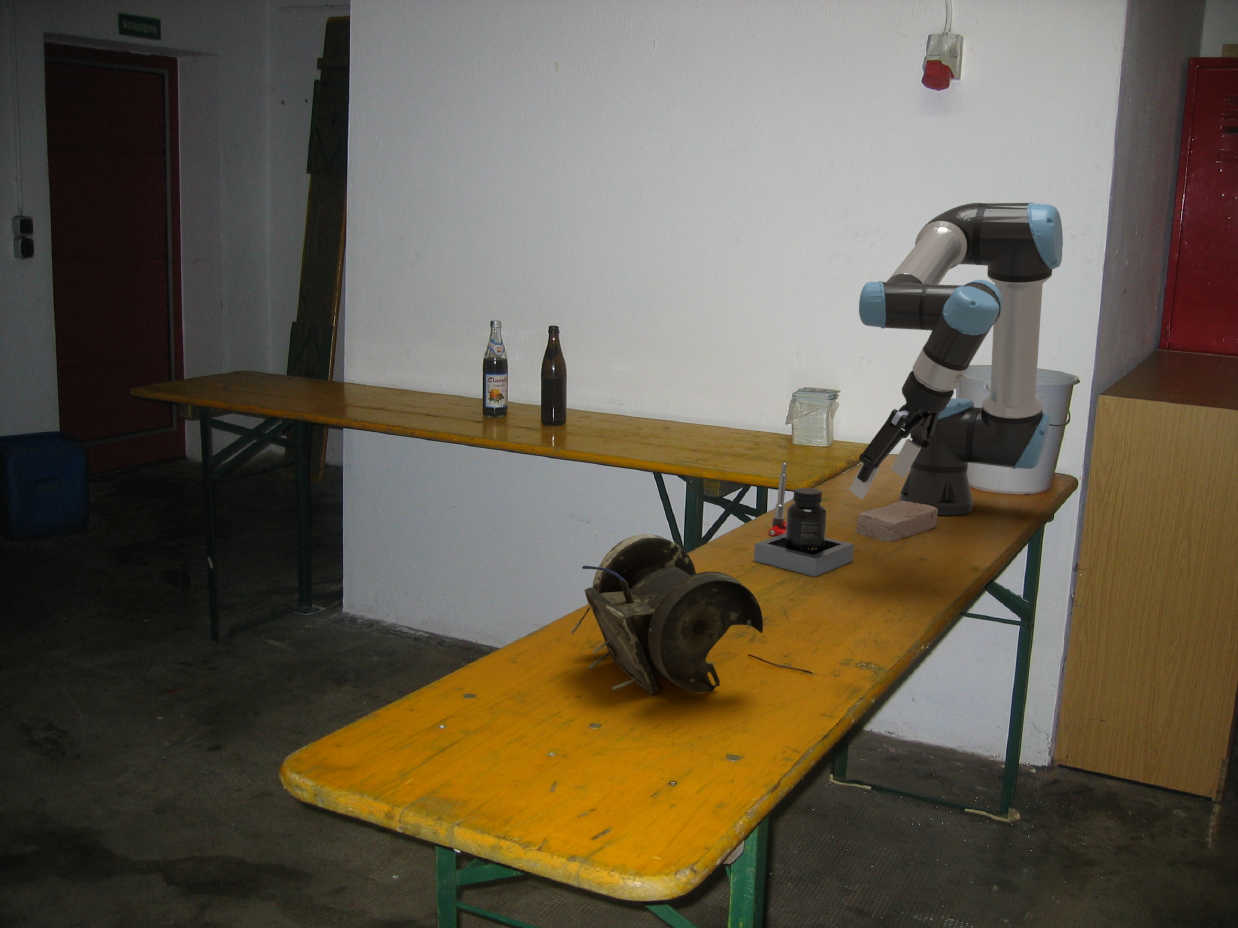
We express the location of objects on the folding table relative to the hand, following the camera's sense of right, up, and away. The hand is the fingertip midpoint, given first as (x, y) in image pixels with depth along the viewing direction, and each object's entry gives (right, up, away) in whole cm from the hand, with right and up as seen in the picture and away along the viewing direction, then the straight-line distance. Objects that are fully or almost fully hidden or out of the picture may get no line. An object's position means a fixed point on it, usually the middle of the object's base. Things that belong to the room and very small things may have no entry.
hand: (877, 483), depth 184 cm
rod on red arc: (-9, -11, +25) cm, 29 cm away
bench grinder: (-39, -24, -42) cm, 62 cm away
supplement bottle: (-11, -13, +8) cm, 19 cm away
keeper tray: (-11, -14, +8) cm, 20 cm away
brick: (+11, -10, +30) cm, 33 cm away
